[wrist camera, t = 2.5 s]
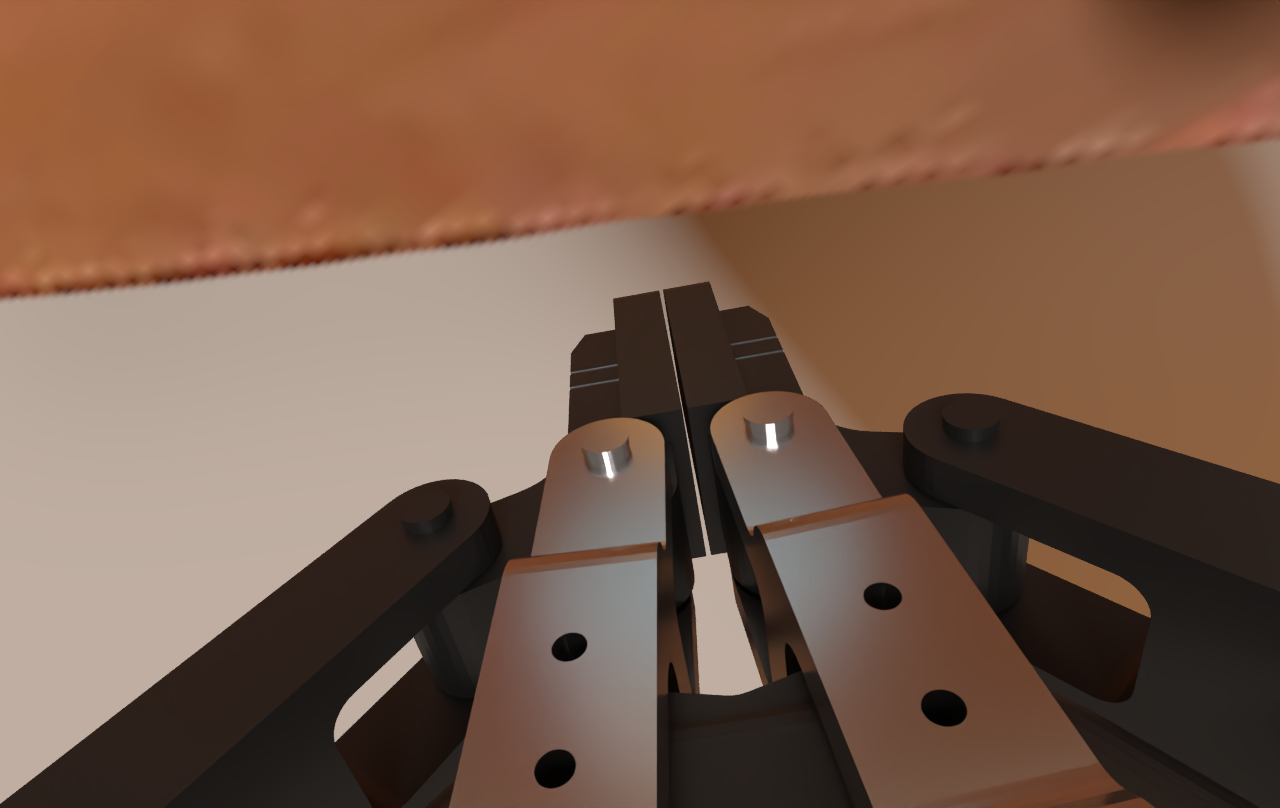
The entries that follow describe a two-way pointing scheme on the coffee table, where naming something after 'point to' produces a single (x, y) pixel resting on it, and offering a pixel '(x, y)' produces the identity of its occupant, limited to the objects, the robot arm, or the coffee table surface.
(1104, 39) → the coffee table surface
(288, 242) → the coffee table surface
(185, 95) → the coffee table surface
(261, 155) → the coffee table surface
